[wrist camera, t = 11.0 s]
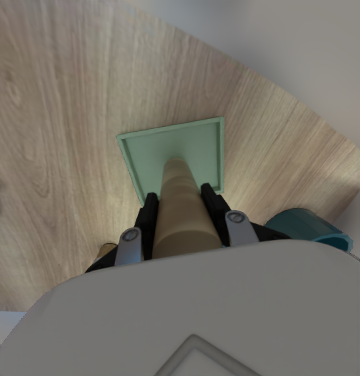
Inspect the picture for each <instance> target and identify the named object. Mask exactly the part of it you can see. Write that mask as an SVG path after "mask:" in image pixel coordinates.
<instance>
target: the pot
mask: <svg viewBox="0 0 360 376" xmlns="http://www.w3.org/2000/svg"><path fill="white" fill-rule="evenodd" d="M264 227H267V228H270V229H273V230H276V231H279V232H282V233H284V234H286V235H288V236H290V237H291V238H292V239H293V240H297V239H299V240H306V241H313V242H318V243H323V244H326V245H329V246H332V247H335V248H337V249H341V250H344V251H347V252H350V251H351V249H352V248H353V240H352V239H351V238H350V237H349V236H348V235H346V234H345V233H343V232H342V231H340V230H339V229H337V228H336V227H334V226H333V225H331V224H330V223H328V222H326V221H325V220H323V219H322V218H320V217H319V216H317V215H316V214H314V213H312V212H311V211H308V210H306V209H302V208H295V209H290V210H286V211H284V212H281V213H279V214H278V215H276V216H274V217H273V218H272V219H271V220H269V221H268V222H267V223H266V225H265V226H264Z"/></svg>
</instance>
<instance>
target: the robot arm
mask: <svg viewBox="0 0 360 376" xmlns="http://www.w3.org/2000/svg"><path fill="white" fill-rule="evenodd" d="M201 196H202V198H203V200H204V203H205V205H206V207H207V210H208V212H209V214H210V217H211V219H212V221H213V224H214V226H215V228H216V231H217V233H218V235H219V238H220V240H221V242H222V245H223V246H225V248H219V249H213V250H207V251H201V252H195V253H189V254H183V255H177V256H171V257H165V258H159V259H152V251H153V243H154V236H155V228H156V221H157V213H158V205H159V200H158V197H157V193H154V192H150V193H147V197H146V200H145V203H144V206H143V208H140V210H139V213H138V216H137V219H136V222H135V225H134V227H132V228H129V229H127V230H126V231H124V232H123V233H122V235H121V236H120V240H119V245H117V246H116V247H115V248H113V249H112V250H111V251H109V252H108V253H107V254H106V255H104V256H103V257H102V258H100V259H99V260H98V261H96V262H95V263H94V264H92V265H91V266H90V267H89V268H88V269H87V270H86V272H85V273H84V274H81V275H79V276H76V277H74V278H71V279H69V280H67V281H65V282H63V283H61V284H59V285H58V286H56V287H54V288H53V289H51V290H50V291H48V292H47V293H46V294H44V295H43V296H42V297H41V298H40V299H39V300H38V301H37V302H36V303H35V304H34V305H33V306H32V307H31V308H30V309H29V311H28V312H27V313H26V314H25V315H24V316H23V318H22V319H21V320H20V322H19V323H18V324H17V325H16V326H15V328H14V329H13V330H12V331H11V333H10V334H9V335H8V336H7V338H6V339H5V340H4V342H3V343H2V344H1V345H0V376H360V259H359V258H358V257H356V256H355V255H353V254H351V253H349V252H347V251H344V250H341V249H337V248H335V247H332V246H329V245H326V244H323V243H318V242H313V241H306V240H299V239H297V240H293V239H292V238H291V237H290V236H288V235H286V234H284V233H282V232H279V231H276V230H273V229H270V228H267V227H264V226H261V225H258V224H255V223H252V222H250V221H249V219H248V217H247V216H246V214H244V213H243V212H241V211H237V210H231V209H230V207H229V206H228V204H227V203H226V201H225V200H224V199H223V197H222V196H221V195H220V194H219V195H216V193H215V192H214V190H213V188H212V187H211V185H210V184H209V182H208V183H203V184H202V185H201Z"/></svg>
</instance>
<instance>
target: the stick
mask: <svg viewBox="0 0 360 376" xmlns="http://www.w3.org/2000/svg"><path fill="white" fill-rule="evenodd" d="M219 248H223V245H222V242H221V240H220V238H219V235H218V233H217V231H216V228H215V226H214V224H213V221H212V219H211V217H210V214H209V212H208V210H207V207H206V205H205V203H204V200H203V198H202V196H201V193H200V191H199V189H198V186H197V184H196V182H195V179H194V177H193V175H192V172H191V170H190V168H189V165H188V163H187V162H186V161H185V160H183V159H181V158H172V159H170V160H168V161H167V162H166V163H165V165H164V168H163V175H162V183H161V190H160V198H159V205H158V213H157V221H156V228H155V236H154V243H153V251H152V258H153V259H159V258H165V257H171V256H177V255H183V254H189V253H195V252H201V251H207V250H213V249H219Z"/></svg>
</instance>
